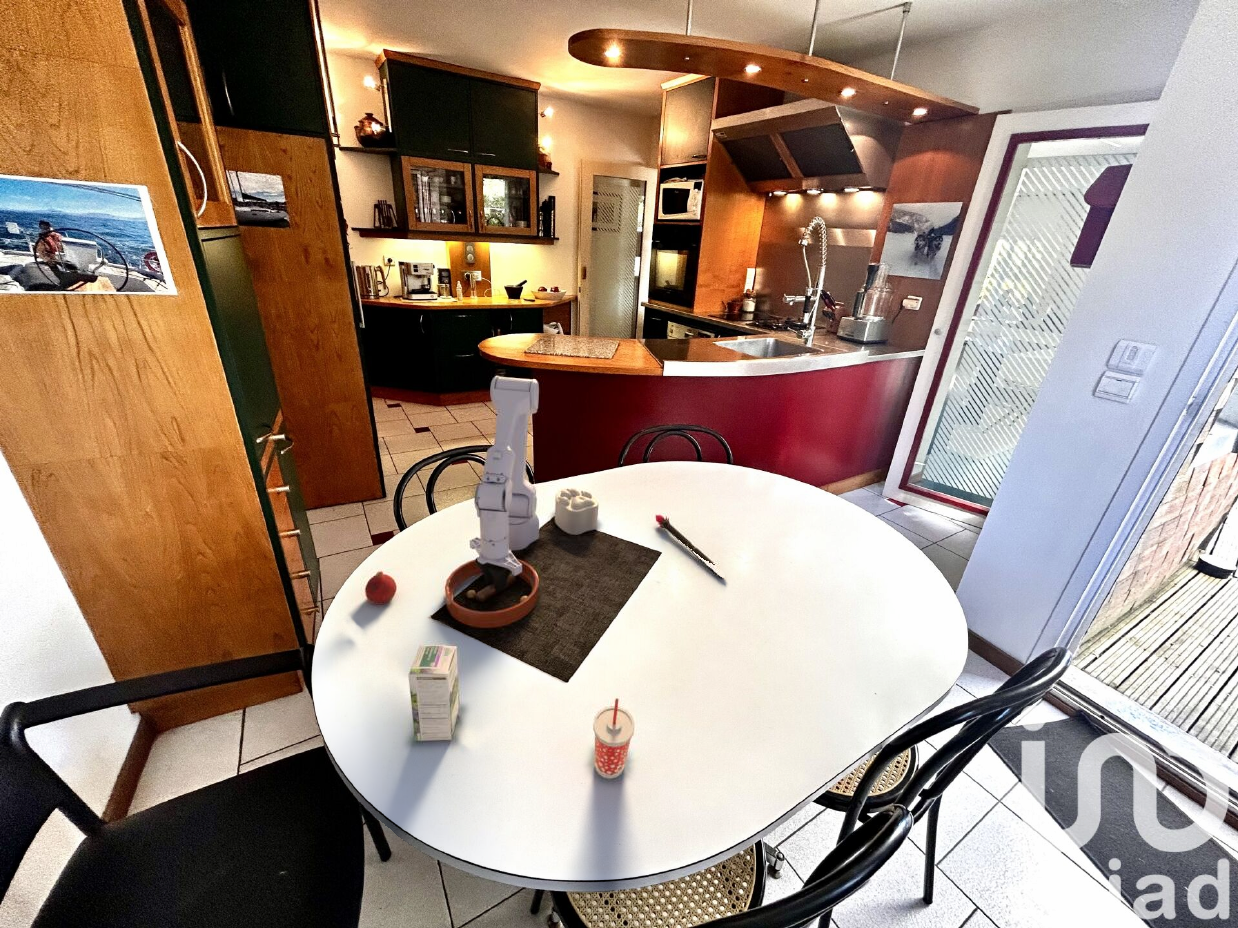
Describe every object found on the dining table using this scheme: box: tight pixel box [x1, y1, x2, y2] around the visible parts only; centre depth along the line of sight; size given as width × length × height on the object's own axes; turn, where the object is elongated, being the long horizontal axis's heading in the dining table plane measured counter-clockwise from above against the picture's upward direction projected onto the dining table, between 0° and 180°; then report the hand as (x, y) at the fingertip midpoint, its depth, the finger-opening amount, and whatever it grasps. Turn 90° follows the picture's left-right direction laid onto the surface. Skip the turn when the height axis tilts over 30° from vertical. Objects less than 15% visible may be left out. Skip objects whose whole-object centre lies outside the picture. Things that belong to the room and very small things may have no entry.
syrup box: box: [408, 644, 460, 742], centre depth 76 cm, size 6×6×14 cm
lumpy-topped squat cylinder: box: [554, 487, 599, 536], centre depth 138 cm, size 10×13×9 cm
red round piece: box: [364, 570, 398, 605], centre depth 102 cm, size 6×6×8 cm
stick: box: [474, 573, 516, 603], centre depth 107 cm, size 10×2×2 cm, turn 143°
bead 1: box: [466, 589, 477, 599], centre depth 106 cm, size 2×2×2 cm
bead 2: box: [519, 595, 529, 603], centre depth 105 cm, size 2×2×2 cm
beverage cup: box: [592, 697, 636, 780], centre depth 73 cm, size 6×6×14 cm
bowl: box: [444, 558, 539, 629], centre depth 106 cm, size 19×19×5 cm
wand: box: [654, 514, 716, 568], centre depth 131 cm, size 4×4×30 cm
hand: (495, 586), depth 107 cm, fingers closed on stick, 2 cm apart
